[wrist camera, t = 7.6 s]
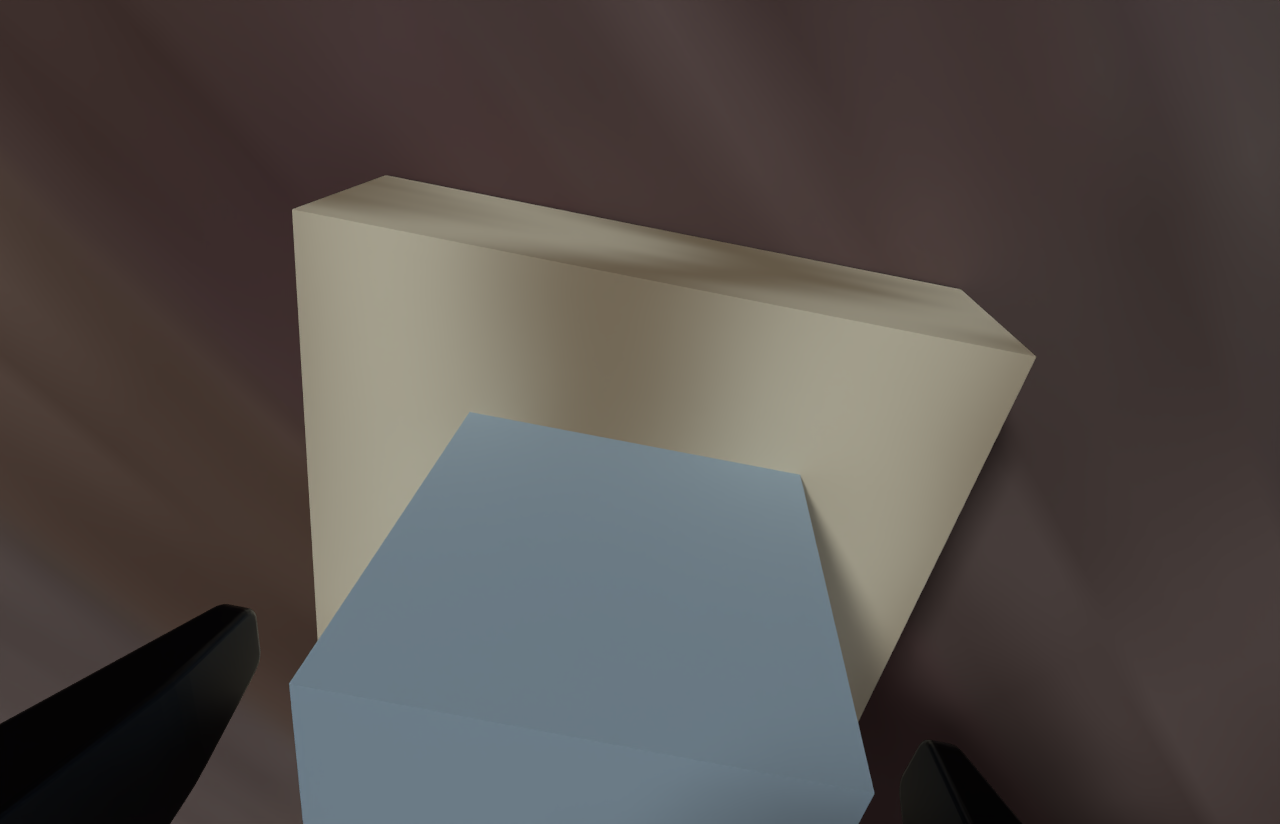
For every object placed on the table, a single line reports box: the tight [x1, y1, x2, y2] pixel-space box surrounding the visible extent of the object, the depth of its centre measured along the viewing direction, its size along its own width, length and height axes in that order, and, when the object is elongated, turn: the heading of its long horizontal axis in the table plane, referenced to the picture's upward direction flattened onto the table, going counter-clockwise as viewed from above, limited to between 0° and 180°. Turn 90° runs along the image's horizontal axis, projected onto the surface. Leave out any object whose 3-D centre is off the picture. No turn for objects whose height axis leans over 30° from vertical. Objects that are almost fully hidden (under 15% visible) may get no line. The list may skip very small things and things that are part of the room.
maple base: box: [292, 175, 1036, 721], centre depth 13 cm, size 10×10×3 cm
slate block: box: [289, 412, 875, 824], centre depth 9 cm, size 5×5×5 cm
